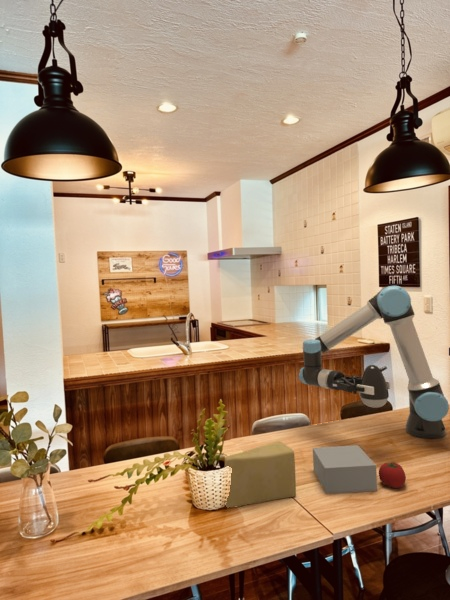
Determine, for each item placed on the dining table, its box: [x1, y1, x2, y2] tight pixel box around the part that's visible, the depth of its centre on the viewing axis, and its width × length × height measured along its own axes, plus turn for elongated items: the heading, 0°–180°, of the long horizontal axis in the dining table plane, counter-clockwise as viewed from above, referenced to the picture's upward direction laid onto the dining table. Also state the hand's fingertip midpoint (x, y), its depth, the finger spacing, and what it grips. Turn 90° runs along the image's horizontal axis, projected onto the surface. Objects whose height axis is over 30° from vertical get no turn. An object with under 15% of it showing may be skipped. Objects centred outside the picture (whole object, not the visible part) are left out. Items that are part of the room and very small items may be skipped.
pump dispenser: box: [358, 364, 390, 409], centre depth 146 cm, size 10×10×15 cm
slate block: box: [312, 444, 378, 495], centre depth 130 cm, size 16×16×8 cm
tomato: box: [378, 461, 407, 489], centre depth 125 cm, size 8×8×7 cm
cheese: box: [224, 440, 297, 509], centre depth 121 cm, size 22×10×15 cm, turn 113°
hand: (381, 388), depth 143 cm, fingers closed on pump dispenser, 10 cm apart
